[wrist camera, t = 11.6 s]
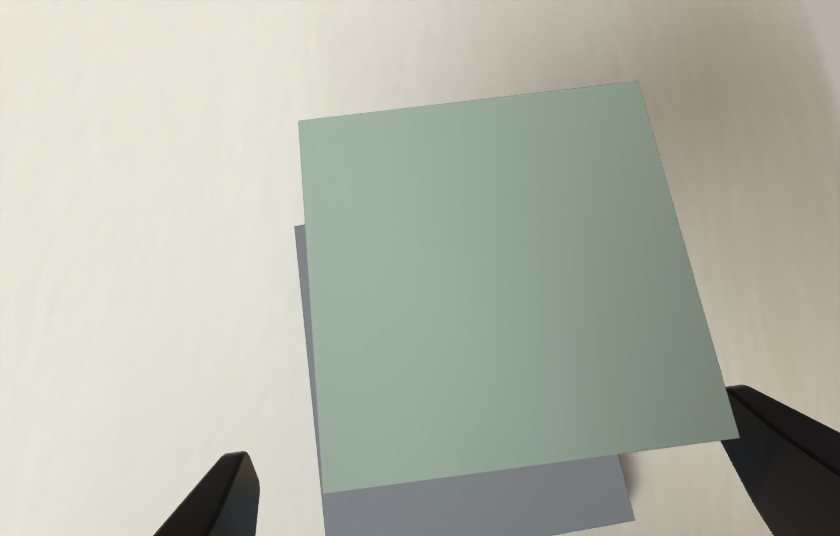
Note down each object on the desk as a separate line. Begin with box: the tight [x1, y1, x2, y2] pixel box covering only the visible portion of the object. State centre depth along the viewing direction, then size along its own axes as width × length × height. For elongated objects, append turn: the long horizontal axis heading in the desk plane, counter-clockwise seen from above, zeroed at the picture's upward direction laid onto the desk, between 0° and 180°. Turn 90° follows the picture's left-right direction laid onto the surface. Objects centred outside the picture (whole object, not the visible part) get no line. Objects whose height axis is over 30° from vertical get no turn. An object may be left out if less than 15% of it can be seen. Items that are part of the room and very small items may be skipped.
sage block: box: [298, 81, 740, 494], centre depth 12 cm, size 4×4×12 cm
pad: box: [294, 225, 635, 536], centre depth 18 cm, size 12×10×1 cm
